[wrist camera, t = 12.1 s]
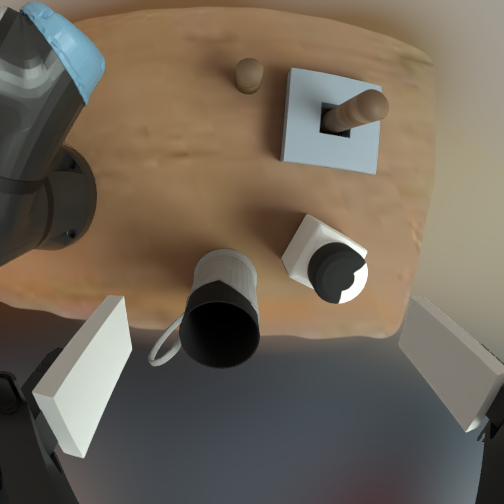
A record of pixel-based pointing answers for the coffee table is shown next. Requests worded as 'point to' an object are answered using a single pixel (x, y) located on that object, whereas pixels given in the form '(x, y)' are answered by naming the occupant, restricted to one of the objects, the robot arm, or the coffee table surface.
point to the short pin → (248, 75)
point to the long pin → (355, 112)
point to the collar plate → (308, 124)
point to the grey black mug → (218, 313)
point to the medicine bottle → (326, 261)
